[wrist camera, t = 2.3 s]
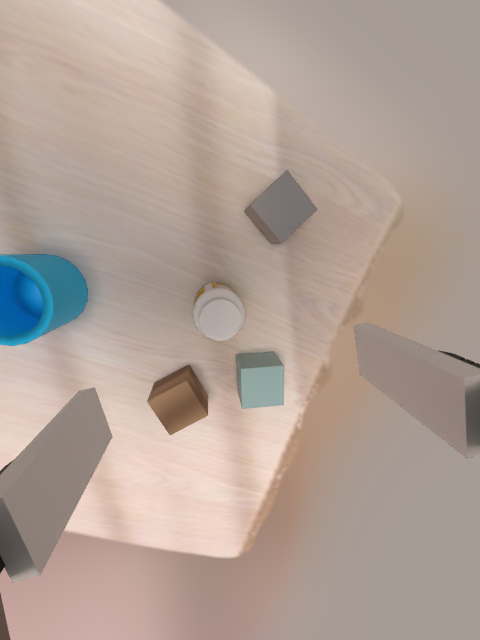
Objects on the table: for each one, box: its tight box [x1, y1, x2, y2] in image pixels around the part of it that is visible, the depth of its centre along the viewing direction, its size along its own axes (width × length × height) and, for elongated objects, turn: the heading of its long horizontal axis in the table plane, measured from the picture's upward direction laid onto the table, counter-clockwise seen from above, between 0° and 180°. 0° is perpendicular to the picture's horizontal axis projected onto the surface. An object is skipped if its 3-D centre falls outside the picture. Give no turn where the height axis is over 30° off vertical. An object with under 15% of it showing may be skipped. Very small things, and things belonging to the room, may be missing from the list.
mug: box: [0, 254, 88, 346], centre depth 30 cm, size 12×8×8 cm
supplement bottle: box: [193, 282, 245, 341], centre depth 32 cm, size 5×5×10 cm
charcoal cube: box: [244, 170, 317, 244], centre depth 33 cm, size 5×5×5 cm
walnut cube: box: [147, 365, 208, 435], centre depth 36 cm, size 5×5×5 cm
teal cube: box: [236, 352, 284, 409], centre depth 37 cm, size 5×5×5 cm
